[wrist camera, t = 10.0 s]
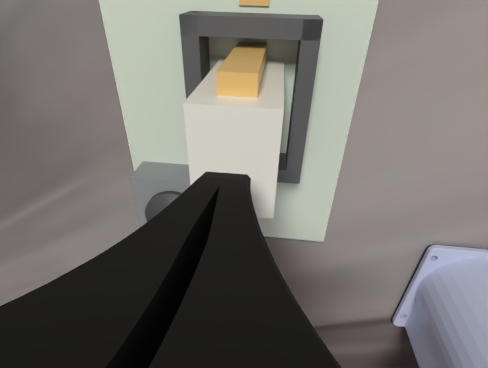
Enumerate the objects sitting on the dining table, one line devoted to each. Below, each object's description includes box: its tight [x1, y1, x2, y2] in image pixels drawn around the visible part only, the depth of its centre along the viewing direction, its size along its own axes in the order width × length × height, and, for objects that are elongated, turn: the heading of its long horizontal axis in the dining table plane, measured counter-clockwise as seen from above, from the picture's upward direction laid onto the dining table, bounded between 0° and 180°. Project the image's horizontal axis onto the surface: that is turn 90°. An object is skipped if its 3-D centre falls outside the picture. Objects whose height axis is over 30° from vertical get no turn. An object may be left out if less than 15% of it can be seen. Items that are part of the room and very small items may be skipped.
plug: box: [183, 42, 284, 219], centre depth 13 cm, size 5×3×7 cm, turn 179°
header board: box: [99, 0, 379, 242], centre depth 17 cm, size 16×13×3 cm
